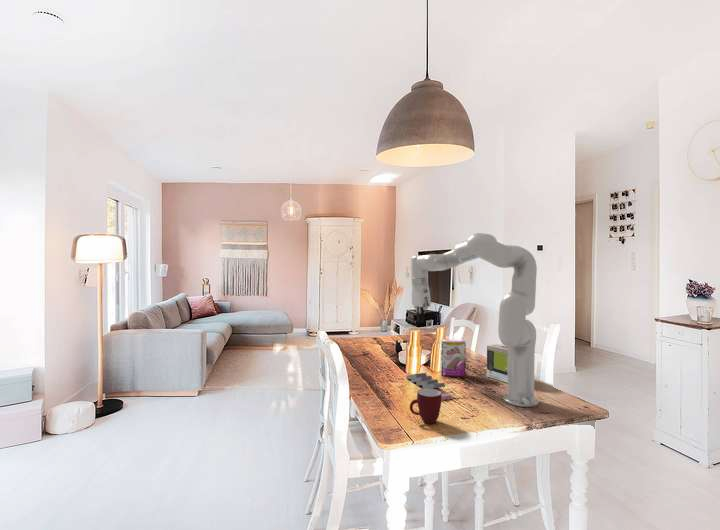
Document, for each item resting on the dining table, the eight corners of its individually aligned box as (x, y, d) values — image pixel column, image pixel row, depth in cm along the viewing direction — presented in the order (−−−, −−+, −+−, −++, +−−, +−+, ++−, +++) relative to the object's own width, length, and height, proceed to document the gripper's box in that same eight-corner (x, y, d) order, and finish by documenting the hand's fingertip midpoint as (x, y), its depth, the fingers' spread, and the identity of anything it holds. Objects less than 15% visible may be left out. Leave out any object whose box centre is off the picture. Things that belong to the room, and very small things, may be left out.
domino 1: (416, 378, 182) (426, 376, 173) (406, 379, 180) (416, 377, 171) (416, 374, 182) (425, 372, 173) (406, 375, 180) (415, 373, 171)
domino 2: (421, 381, 177) (432, 379, 168) (411, 382, 175) (421, 381, 166) (420, 377, 177) (431, 375, 169) (410, 378, 176) (421, 376, 167)
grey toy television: (528, 382, 175) (528, 348, 175) (512, 385, 170) (512, 351, 170) (501, 373, 188) (501, 342, 188) (486, 376, 183) (486, 344, 183)
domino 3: (426, 384, 173) (438, 383, 164) (416, 385, 171) (427, 384, 162) (426, 380, 173) (437, 379, 164) (416, 381, 171) (426, 380, 162)
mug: (413, 428, 128) (413, 397, 128) (407, 418, 136) (407, 389, 136) (445, 426, 129) (444, 395, 129) (437, 416, 137) (437, 388, 137)
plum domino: (437, 391, 164) (451, 399, 154) (427, 392, 162) (440, 400, 153) (437, 387, 164) (451, 394, 154) (427, 388, 162) (440, 396, 153)
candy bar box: (441, 376, 184) (441, 341, 184) (440, 373, 189) (440, 339, 189) (466, 377, 183) (465, 341, 183) (464, 373, 188) (464, 339, 188)
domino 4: (433, 387, 167) (445, 386, 159) (422, 389, 166) (434, 388, 157) (432, 383, 168) (444, 382, 159) (422, 385, 166) (433, 383, 157)
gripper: (435, 282, 176) (436, 323, 176) (419, 281, 190) (420, 319, 190) (420, 282, 173) (421, 324, 173) (405, 281, 187) (406, 320, 187)
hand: (420, 321), depth 182 cm, fingers closed
